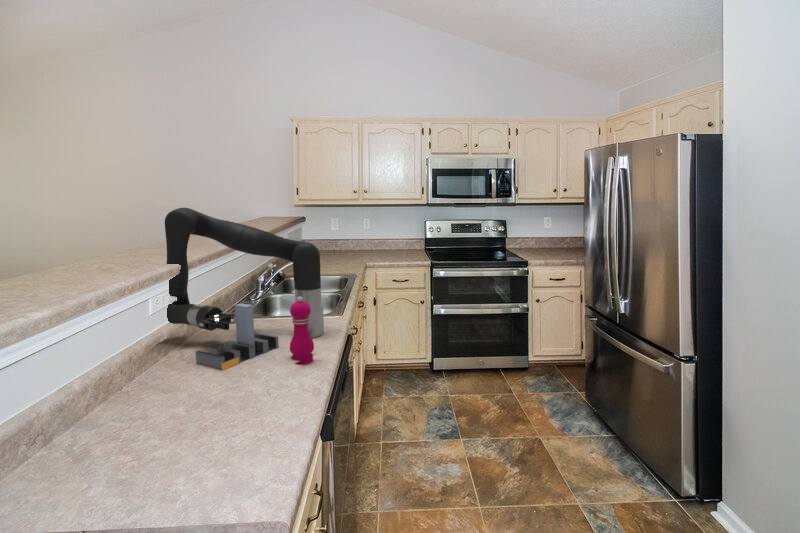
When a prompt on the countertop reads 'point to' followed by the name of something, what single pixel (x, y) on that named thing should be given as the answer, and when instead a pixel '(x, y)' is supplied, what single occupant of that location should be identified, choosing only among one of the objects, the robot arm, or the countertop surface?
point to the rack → (236, 352)
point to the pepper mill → (301, 333)
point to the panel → (245, 323)
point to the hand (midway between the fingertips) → (239, 323)
